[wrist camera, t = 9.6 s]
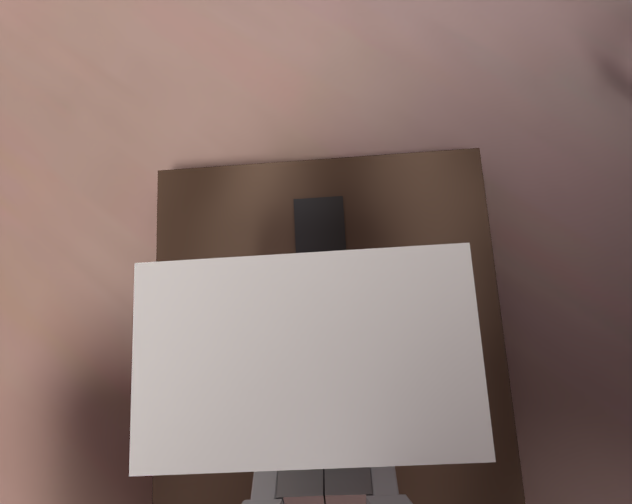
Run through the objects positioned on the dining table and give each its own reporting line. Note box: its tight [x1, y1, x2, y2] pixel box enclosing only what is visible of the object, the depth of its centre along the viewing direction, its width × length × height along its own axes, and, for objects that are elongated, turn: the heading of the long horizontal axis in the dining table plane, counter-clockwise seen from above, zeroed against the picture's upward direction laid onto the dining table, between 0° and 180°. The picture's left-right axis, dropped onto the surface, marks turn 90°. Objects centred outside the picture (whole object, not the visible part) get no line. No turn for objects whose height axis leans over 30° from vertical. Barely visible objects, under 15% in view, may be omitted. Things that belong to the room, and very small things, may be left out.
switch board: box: [152, 148, 525, 504], centre depth 15 cm, size 12×22×2 cm, turn 3°
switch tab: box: [129, 243, 496, 476], centre depth 11 cm, size 5×3×9 cm, turn 93°
